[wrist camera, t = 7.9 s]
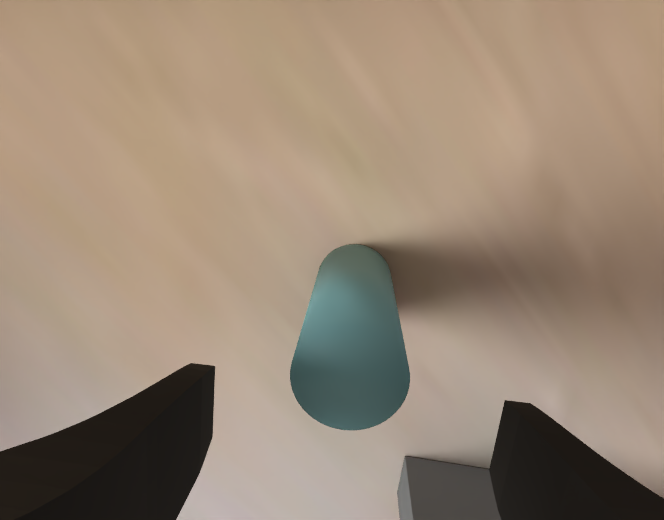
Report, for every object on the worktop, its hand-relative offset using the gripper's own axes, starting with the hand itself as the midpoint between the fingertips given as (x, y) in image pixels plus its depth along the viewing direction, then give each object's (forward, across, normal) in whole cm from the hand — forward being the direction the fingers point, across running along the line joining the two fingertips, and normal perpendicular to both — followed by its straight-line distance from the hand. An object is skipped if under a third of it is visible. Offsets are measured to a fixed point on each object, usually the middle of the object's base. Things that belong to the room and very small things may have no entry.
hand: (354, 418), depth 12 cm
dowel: (+8, 0, -1) cm, 8 cm away
